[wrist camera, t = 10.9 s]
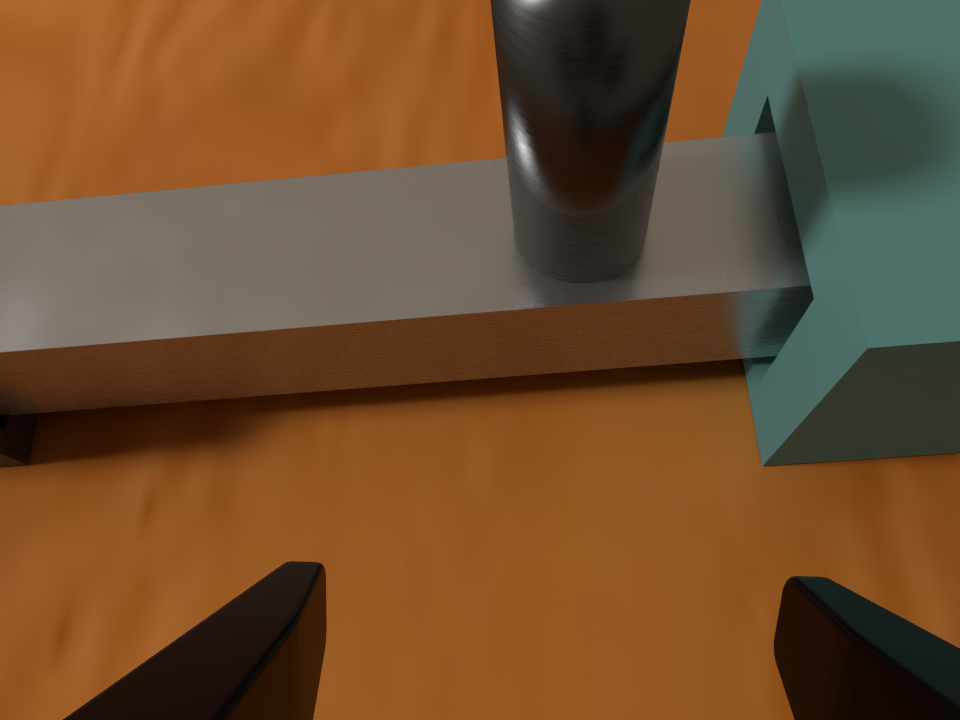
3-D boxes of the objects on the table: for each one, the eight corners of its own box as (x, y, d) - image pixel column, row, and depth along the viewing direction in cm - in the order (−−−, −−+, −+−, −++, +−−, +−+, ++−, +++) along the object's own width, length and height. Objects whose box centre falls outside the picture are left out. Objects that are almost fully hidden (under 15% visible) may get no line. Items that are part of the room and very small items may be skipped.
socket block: (762, 466, 22) (867, 347, 14) (709, 180, 25) (772, -35, 18) (958, 452, 21) (1171, 324, 14) (877, 164, 25) (1013, -62, 17)
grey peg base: (-51, 420, 23) (-595, 177, 12) (-24, 290, 24) (-485, -26, 13) (877, 347, 21) (1204, -8, 10) (843, 214, 22) (1097, -215, 12)
